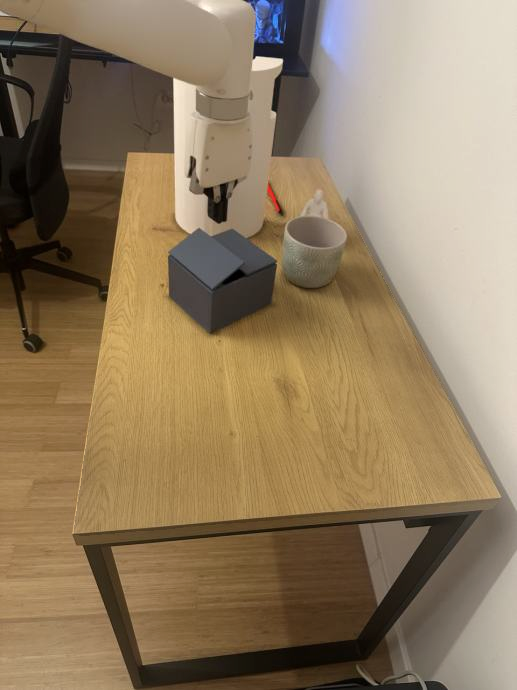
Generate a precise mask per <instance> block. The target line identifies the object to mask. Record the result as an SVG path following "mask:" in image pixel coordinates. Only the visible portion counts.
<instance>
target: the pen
mask: <svg viewBox="0 0 517 690" xmlns="http://www.w3.org/2000/svg"><path fill="white" fill-rule="evenodd" d="M267 193H268V194H269V196H270V198H271V200H272V202H273V204H274V206H275V208H276V211H277V213H278V214H280V216H283V209H282V207H281V205H280V204H279V202H278V200H277V198H276V196H275V194H274V192H273V190H272V188H271V186H270V184H269V183H268V187H267Z"/></svg>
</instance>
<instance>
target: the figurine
mask: <svg viewBox="0 0 517 690" xmlns="http://www.w3.org/2000/svg"><path fill="white" fill-rule="evenodd" d="M307 215H311V216H320V217H324V218H327V219H329V209H328V204H327V202H326V201H325V200H324V192H323V190H322V189H320V188H319V189H316V191H315V192H314V195H313V198H310V199H308V200H307V202H306V203H305V204H304V206H303V207H302V210H301V212H300V214H299V216H307Z"/></svg>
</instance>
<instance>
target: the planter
mask: <svg viewBox="0 0 517 690" xmlns="http://www.w3.org/2000/svg"><path fill="white" fill-rule="evenodd" d="M347 241H348V233H347V231H346V230H345V228H344V227H343V226H342V225H340V224H339V223H338V222H336V221H334V220H333V219H330V218H328V219H327V218H324V217H323V216H321V217H320V216H311V215H308V214H306V216H300V215H299V216H296V217H293V218H291V219H290V220H288V221H287V223H285V226H284V234H283V243H282V249H281V251H282V252H281V270H282V273H283V275H284V276H285V278H286V279H287V280H288V281H289V282H291V283H292V284H294V285H295V286H298V287H301V288H306V289H318V288H322V287H325V286H327V285H328V284H330V283H331V282H332V281H333V279H334V278H335V276H336V274H337V272H338V269H339V267H340V264H341V262H342V261H341V260H342V257H343V254H344V250H345V247H346V244H347Z"/></svg>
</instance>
